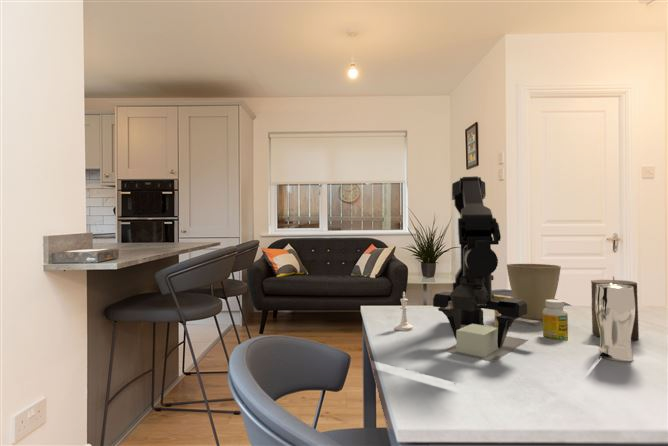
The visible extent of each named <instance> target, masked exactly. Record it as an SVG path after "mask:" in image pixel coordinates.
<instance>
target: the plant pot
mask: <svg viewBox="0 0 668 446" xmlns="http://www.w3.org/2000/svg"><path fill="white" fill-rule="evenodd" d="M506 268H507V269H506V270H507V276H508V281H509V286H510V290H511V293H512V297H514V299H519V300H524V301H525V302H526V304H527V314H525V315H523V316H521V317H520V318H523V319H529V320H535V321H540V320H542V321H543V310H544V309H545V308H547V306H546V305H545V301H546V300H555V299H556V296H557V295H556V294H557V291H558V286H559V281H560V275H561V265H556V264H548V263H547V264H546V263H544V264H543V263H508V264H506Z"/></svg>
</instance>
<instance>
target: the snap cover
mask: <svg viewBox="0 0 668 446" xmlns="http://www.w3.org/2000/svg"><path fill="white" fill-rule="evenodd" d="M497 338H498V328H497V327H495V326H491V325H485V324H484V325H478V324H470V325H464V327H461V329H458V330H456V339H455V342H456V344H455V345H456V351H457V352H461V353H466V354H471V355H475V356H480V357H486V356H488V355H489V354H491V353H493V352H494V351H496V350H498V349H499V348H498V343H497Z"/></svg>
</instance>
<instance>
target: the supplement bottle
mask: <svg viewBox="0 0 668 446" xmlns="http://www.w3.org/2000/svg"><path fill="white" fill-rule="evenodd" d="M545 305H546V306H547V308H545V309H544V310H543V320H542V336H543V339H549V340H556V341H560V342H561V341H563V342H568V341H569V329H568V328H569V326H568V325H569V324H568V321H569V320H568V317H569V316H568V311H567V310H566V309H564V307H565V301H564V300H561V299H554V300H546V301H545Z"/></svg>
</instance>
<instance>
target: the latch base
mask: <svg viewBox="0 0 668 446" xmlns="http://www.w3.org/2000/svg"><path fill="white" fill-rule="evenodd" d="M528 341H529V339H526V338H520V337H514V336H513V337H512V336H509V335H506V338H505V340H504V343H503V345H502V347H501V348H499V349H498V350H496V351H494V352H493V353H491V354H489V355H488V356H486V357H480V356H475V355H471V354H466V353H461V352H457V351H456V344H454V345H452V346H450V347H447V348H446V349H443V350H442V352H445V353H450V354H454V355H460V356H464V357H469V358H474V359H477V360H482V361H485V362H486V361H487V362H492V363H495V362H496V361H498V360H499V359H502V358H503V357H504V356H506V355H507V354H509V353H511V352H512V351H514V350H516V349H517V348H518V347H520V346H521V345H523V344H525V343H527V342H528Z"/></svg>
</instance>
